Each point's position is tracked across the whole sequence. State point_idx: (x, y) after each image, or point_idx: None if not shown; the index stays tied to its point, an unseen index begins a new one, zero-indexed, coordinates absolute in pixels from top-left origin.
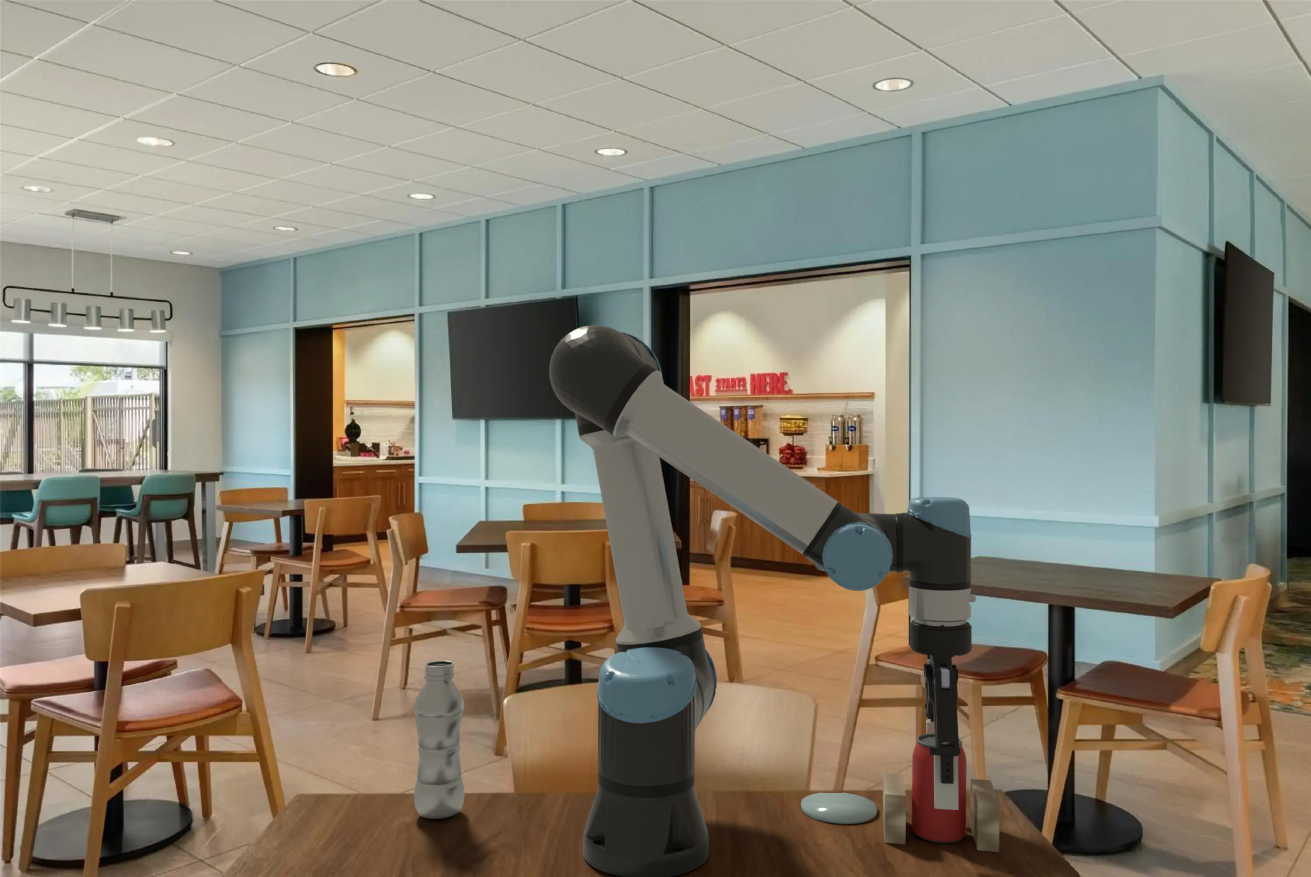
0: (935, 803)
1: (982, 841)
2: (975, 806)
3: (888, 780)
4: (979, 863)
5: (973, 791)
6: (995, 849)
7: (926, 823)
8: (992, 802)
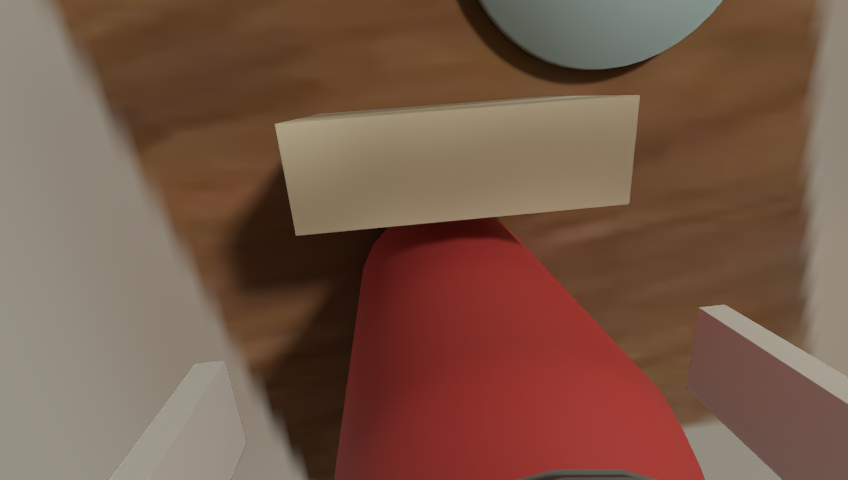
0: (183, 381)
1: None
2: None
3: (514, 132)
4: (271, 380)
5: None
6: None
7: (368, 269)
8: None
